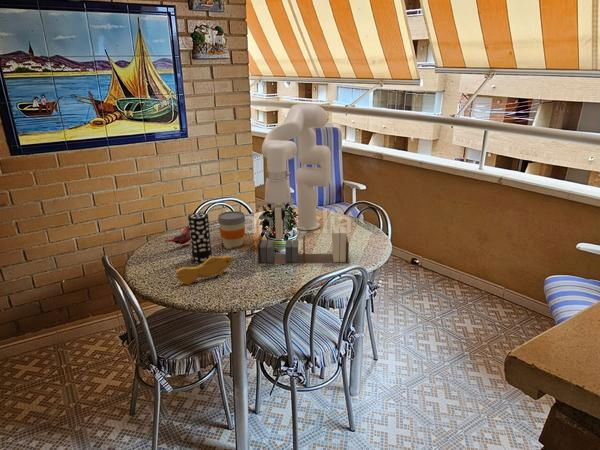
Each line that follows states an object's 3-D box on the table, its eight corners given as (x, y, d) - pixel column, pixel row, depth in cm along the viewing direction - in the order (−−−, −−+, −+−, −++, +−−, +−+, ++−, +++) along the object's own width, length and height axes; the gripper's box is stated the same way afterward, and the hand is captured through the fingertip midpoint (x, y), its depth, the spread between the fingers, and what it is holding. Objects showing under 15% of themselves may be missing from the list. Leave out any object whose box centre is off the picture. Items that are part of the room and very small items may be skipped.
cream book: (277, 232, 175) (275, 203, 171) (283, 232, 175) (281, 203, 171) (275, 239, 168) (274, 209, 163) (282, 239, 168) (280, 209, 163)
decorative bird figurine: (198, 242, 197) (196, 223, 194) (167, 254, 185) (164, 233, 181) (195, 241, 199) (193, 221, 196) (163, 252, 186) (161, 232, 183)
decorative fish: (233, 267, 166) (226, 246, 162) (236, 270, 164) (229, 249, 159) (182, 291, 159) (173, 270, 154) (184, 294, 156) (175, 273, 152)
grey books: (262, 255, 179) (261, 240, 176) (298, 254, 178) (298, 239, 176) (260, 262, 171) (259, 247, 169) (298, 262, 170) (297, 247, 168)
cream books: (332, 254, 177) (332, 226, 173) (344, 254, 177) (344, 226, 173) (333, 262, 170) (333, 233, 165) (345, 262, 169) (346, 233, 165)
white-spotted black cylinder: (215, 257, 180) (211, 214, 173) (204, 264, 173) (200, 220, 166) (200, 254, 184) (196, 212, 177) (188, 261, 176) (183, 217, 170)
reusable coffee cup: (229, 238, 201) (227, 209, 196) (251, 242, 196) (250, 212, 191) (214, 248, 190) (212, 217, 185) (237, 252, 185) (235, 220, 180)
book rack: (260, 256, 180) (259, 235, 177) (346, 255, 178) (347, 234, 175) (257, 265, 170) (256, 243, 167) (348, 265, 169) (349, 243, 165)
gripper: (297, 172, 166) (298, 215, 172) (258, 173, 166) (260, 216, 173) (297, 177, 159) (298, 221, 165) (255, 178, 159) (258, 222, 166)
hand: (278, 218), depth 169 cm, fingers closed on cream book, 2 cm apart
